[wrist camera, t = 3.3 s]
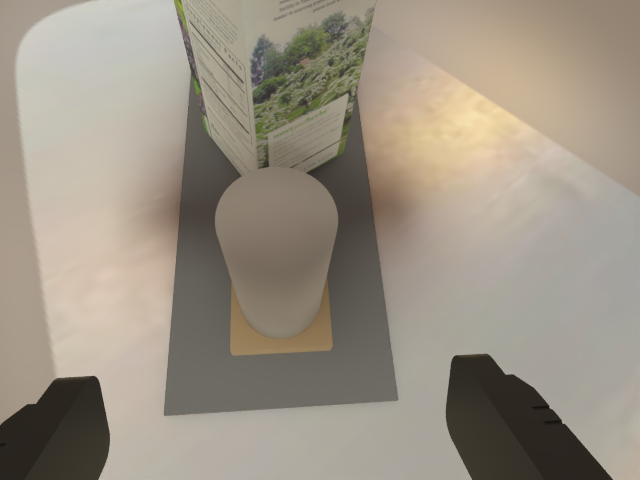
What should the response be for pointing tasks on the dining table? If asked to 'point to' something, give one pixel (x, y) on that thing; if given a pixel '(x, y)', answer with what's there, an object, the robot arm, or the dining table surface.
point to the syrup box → (276, 76)
